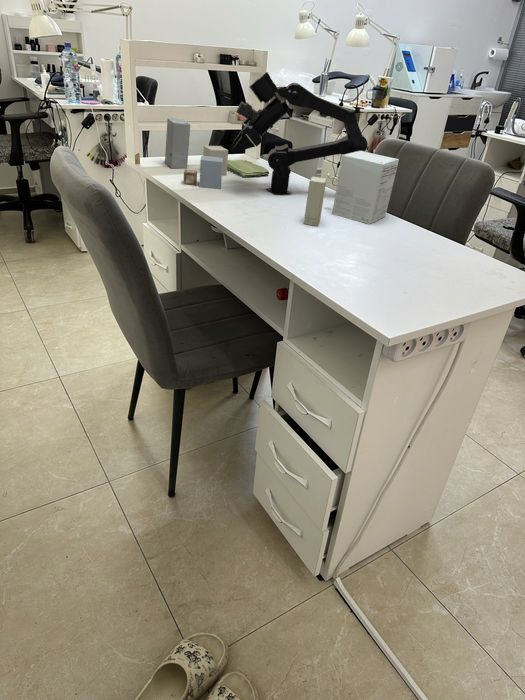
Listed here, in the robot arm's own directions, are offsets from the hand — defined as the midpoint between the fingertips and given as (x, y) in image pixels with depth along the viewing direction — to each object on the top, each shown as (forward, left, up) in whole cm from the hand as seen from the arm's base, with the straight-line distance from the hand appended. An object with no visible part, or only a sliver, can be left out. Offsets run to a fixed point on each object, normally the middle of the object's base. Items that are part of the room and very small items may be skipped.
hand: (232, 149), depth 159 cm
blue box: (+3, +6, -12) cm, 14 cm away
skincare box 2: (-37, -10, -12) cm, 40 cm away
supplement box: (-33, -30, -12) cm, 46 cm away
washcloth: (+21, -15, -13) cm, 29 cm away
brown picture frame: (+5, +12, -12) cm, 18 cm away
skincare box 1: (+29, +9, -12) cm, 33 cm away
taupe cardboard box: (+19, -2, -12) cm, 23 cm away
